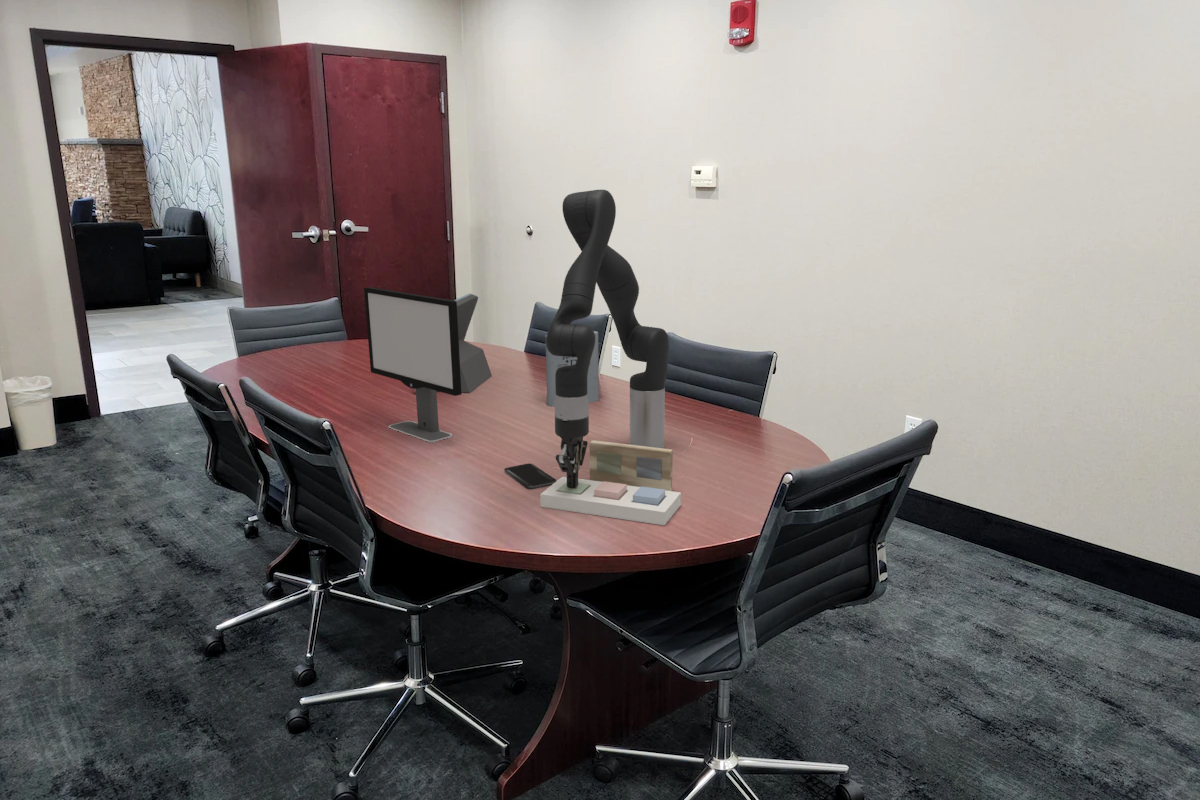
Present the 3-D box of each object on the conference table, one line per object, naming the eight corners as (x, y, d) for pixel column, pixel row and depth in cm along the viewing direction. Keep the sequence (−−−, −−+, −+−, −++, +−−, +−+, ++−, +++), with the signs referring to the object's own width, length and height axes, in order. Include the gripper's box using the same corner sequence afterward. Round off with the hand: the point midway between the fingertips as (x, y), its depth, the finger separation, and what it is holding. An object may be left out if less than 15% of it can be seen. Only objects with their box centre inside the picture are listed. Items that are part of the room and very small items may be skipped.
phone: (528, 487, 199) (502, 468, 212) (528, 491, 199) (503, 472, 212) (558, 480, 203) (531, 462, 215) (558, 485, 203) (531, 466, 216)
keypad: (562, 488, 200) (562, 476, 199) (680, 505, 190) (681, 492, 189) (540, 506, 189) (540, 494, 189) (664, 525, 179) (664, 512, 178)
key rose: (603, 492, 193) (603, 481, 192) (626, 495, 191) (626, 484, 190) (594, 501, 188) (594, 489, 187) (618, 504, 186) (618, 493, 185)
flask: (550, 407, 267) (548, 329, 261) (545, 403, 272) (543, 327, 265) (601, 401, 274) (600, 325, 267) (596, 398, 278) (595, 322, 271)
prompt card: (593, 479, 206) (592, 440, 203) (672, 490, 198) (672, 449, 196) (589, 482, 204) (588, 443, 201) (669, 493, 196) (669, 452, 194)
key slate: (641, 497, 189) (641, 486, 189) (665, 501, 187) (665, 489, 187) (632, 506, 184) (632, 495, 184) (657, 510, 182) (657, 498, 182)
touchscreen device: (446, 370, 317) (444, 290, 309) (496, 374, 314) (496, 293, 306) (409, 394, 284) (406, 305, 276) (465, 399, 281) (463, 309, 272)
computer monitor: (368, 421, 254) (357, 288, 243) (392, 415, 260) (382, 285, 249) (452, 450, 227) (444, 302, 217) (477, 443, 233) (470, 298, 223)
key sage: (567, 492, 196) (567, 481, 195) (589, 495, 194) (589, 484, 193) (557, 500, 191) (557, 489, 190) (580, 504, 189) (580, 492, 188)
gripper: (568, 404, 195) (569, 475, 199) (543, 419, 183) (544, 494, 187) (598, 407, 192) (598, 479, 196) (575, 423, 180) (576, 499, 185)
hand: (572, 487), depth 192 cm, fingers closed
